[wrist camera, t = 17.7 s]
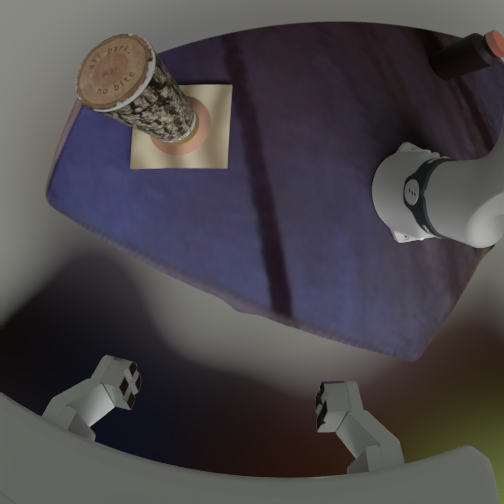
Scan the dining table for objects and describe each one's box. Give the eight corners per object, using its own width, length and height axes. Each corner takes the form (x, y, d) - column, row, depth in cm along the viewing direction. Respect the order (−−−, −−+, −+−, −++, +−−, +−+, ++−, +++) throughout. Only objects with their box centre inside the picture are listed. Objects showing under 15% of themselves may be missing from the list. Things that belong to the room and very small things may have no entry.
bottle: (429, 48, 37) (487, 18, 18) (451, 63, 38) (510, 41, 19) (428, 70, 39) (491, 43, 20) (450, 86, 40) (514, 67, 20)
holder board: (232, 87, 40) (232, 84, 38) (227, 168, 43) (227, 168, 42) (139, 91, 39) (136, 88, 37) (133, 169, 43) (129, 168, 41)
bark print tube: (157, 109, 39) (78, 49, 14) (198, 102, 39) (154, 24, 14) (159, 149, 40) (74, 121, 16) (201, 142, 40) (154, 97, 16)
